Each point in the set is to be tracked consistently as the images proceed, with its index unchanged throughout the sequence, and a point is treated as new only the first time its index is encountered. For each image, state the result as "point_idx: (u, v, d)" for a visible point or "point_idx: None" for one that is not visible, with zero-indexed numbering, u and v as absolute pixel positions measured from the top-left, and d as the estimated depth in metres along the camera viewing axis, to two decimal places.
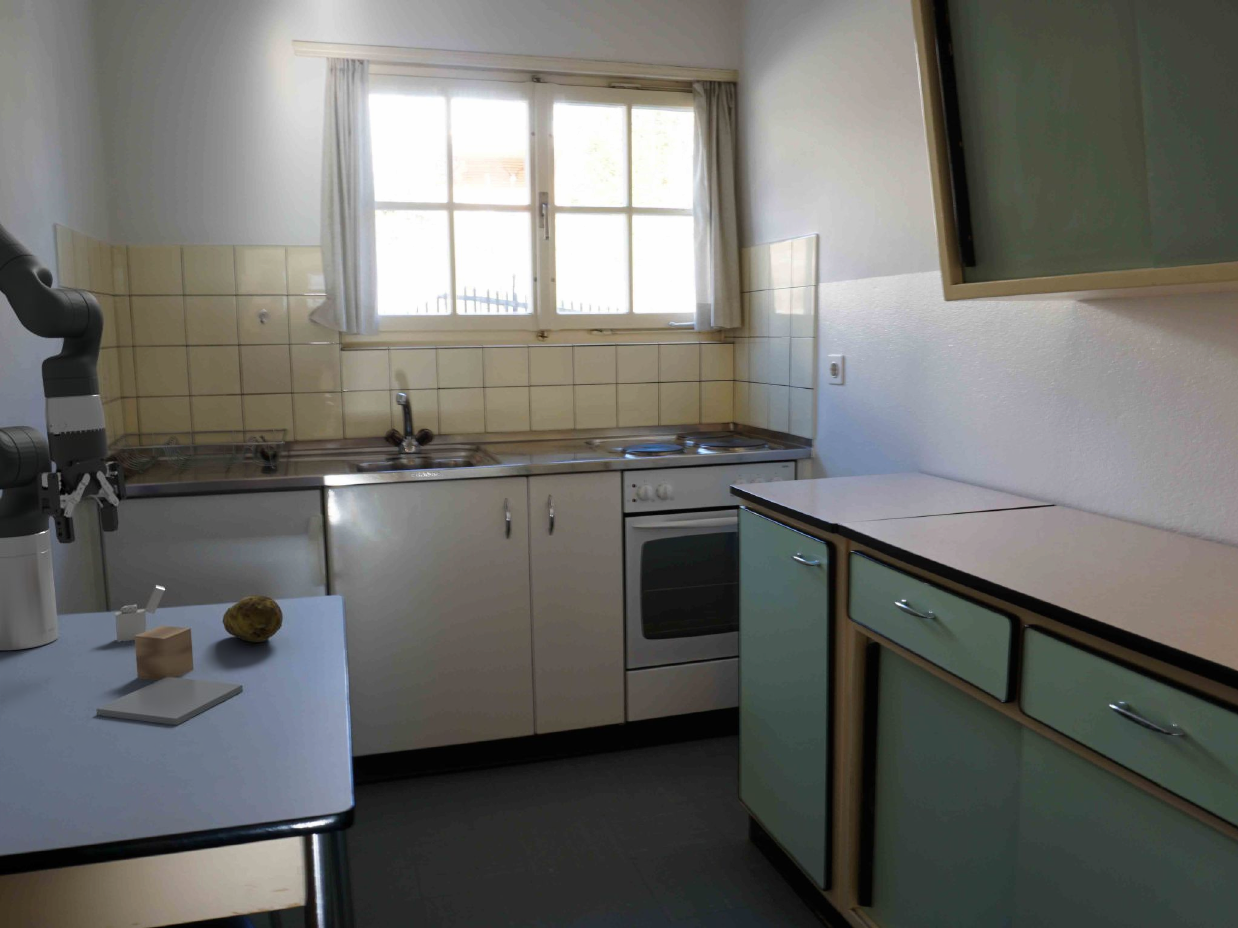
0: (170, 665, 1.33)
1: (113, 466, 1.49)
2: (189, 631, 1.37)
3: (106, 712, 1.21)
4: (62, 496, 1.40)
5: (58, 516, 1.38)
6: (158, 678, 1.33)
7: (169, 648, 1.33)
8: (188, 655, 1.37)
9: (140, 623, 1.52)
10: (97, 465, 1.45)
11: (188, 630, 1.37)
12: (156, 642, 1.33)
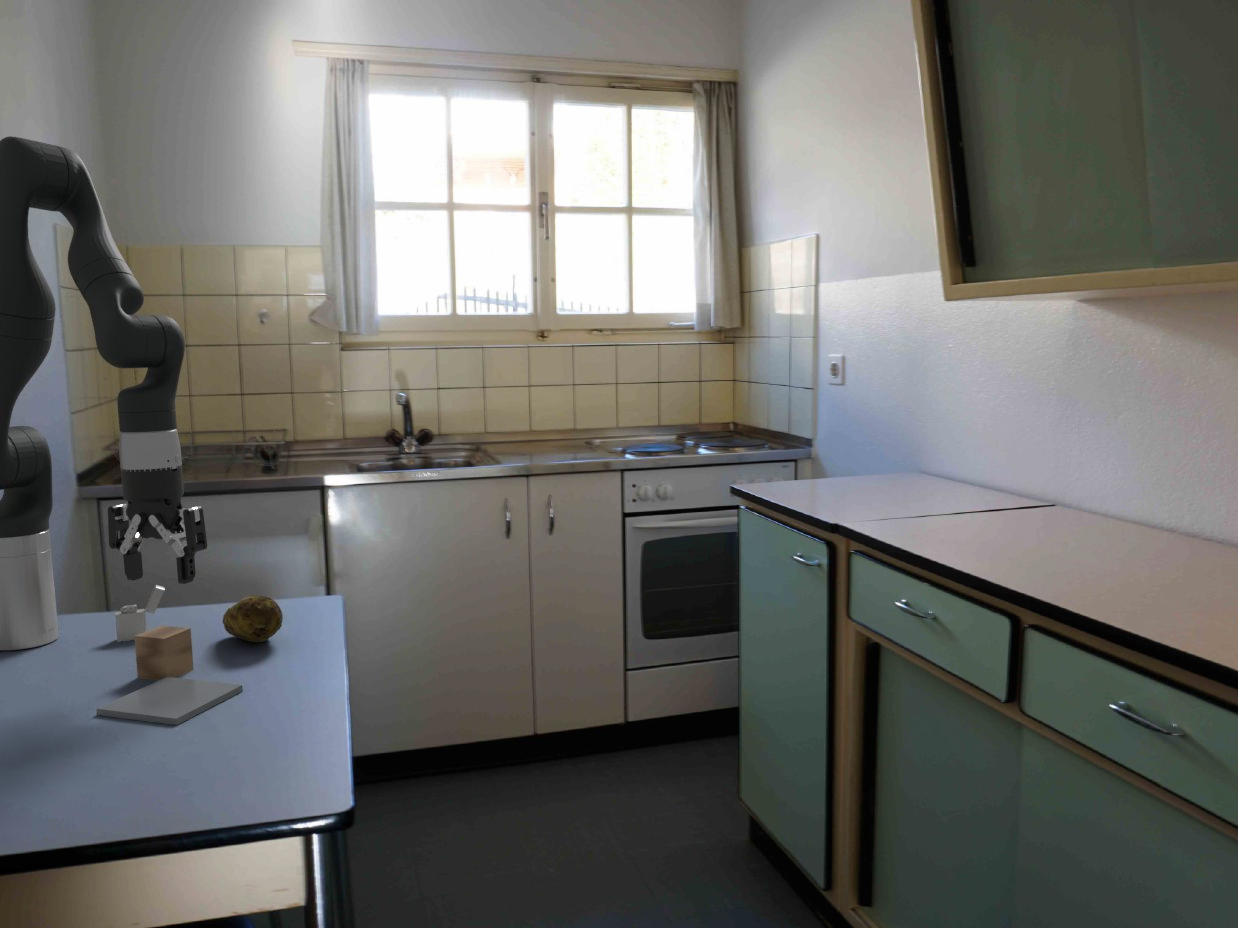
0: (170, 665, 1.33)
1: None
2: (189, 631, 1.37)
3: (106, 712, 1.21)
4: (178, 534, 1.32)
5: (195, 552, 1.33)
6: (158, 678, 1.33)
7: (168, 648, 1.33)
8: (188, 655, 1.37)
9: (140, 623, 1.52)
10: None
11: (188, 630, 1.37)
12: (156, 642, 1.33)
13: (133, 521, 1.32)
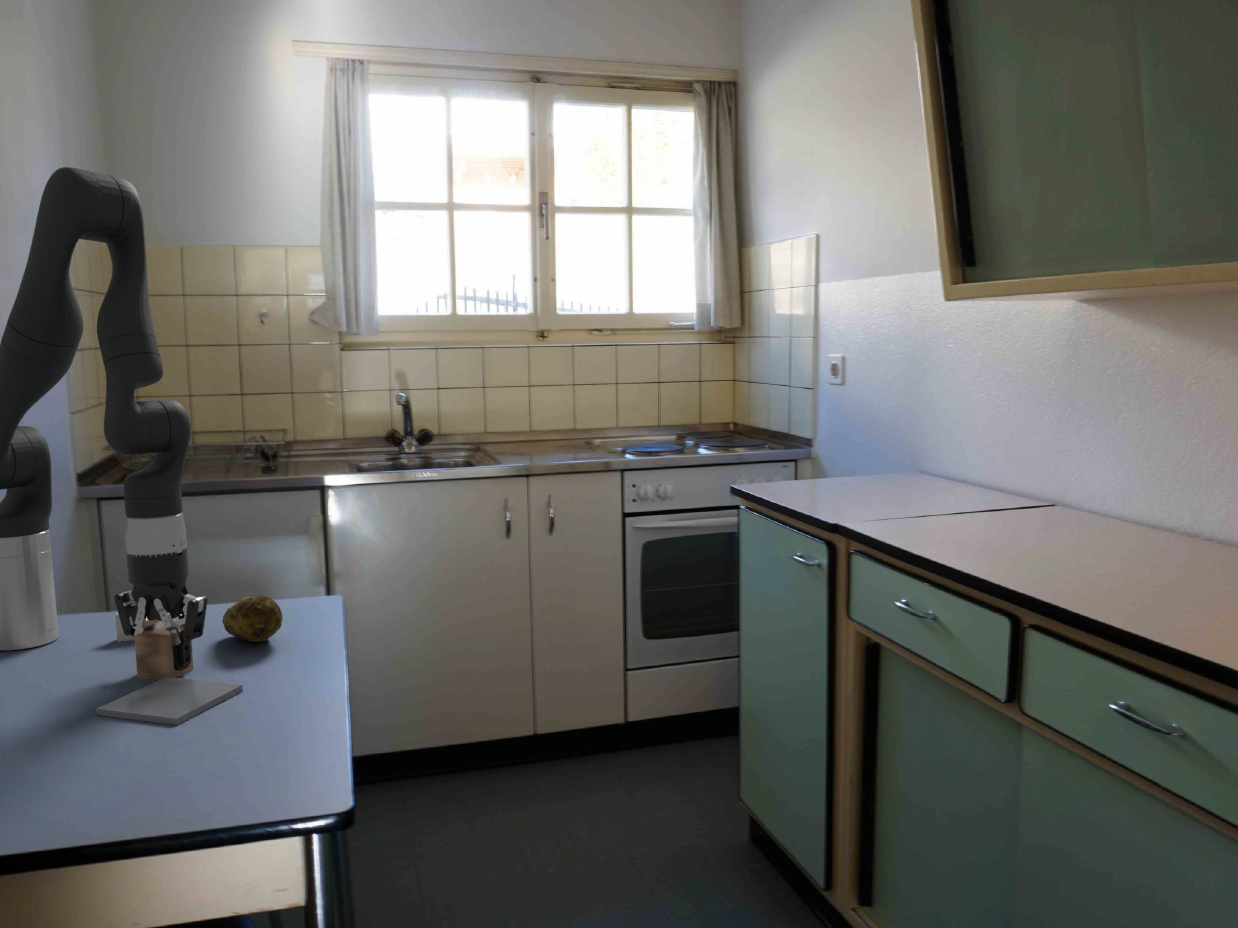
0: (169, 665, 1.33)
1: None
2: None
3: (106, 712, 1.21)
4: (178, 621, 1.34)
5: (190, 640, 1.35)
6: (158, 678, 1.33)
7: (168, 648, 1.33)
8: None
9: None
10: None
11: None
12: (156, 641, 1.33)
13: (139, 605, 1.34)
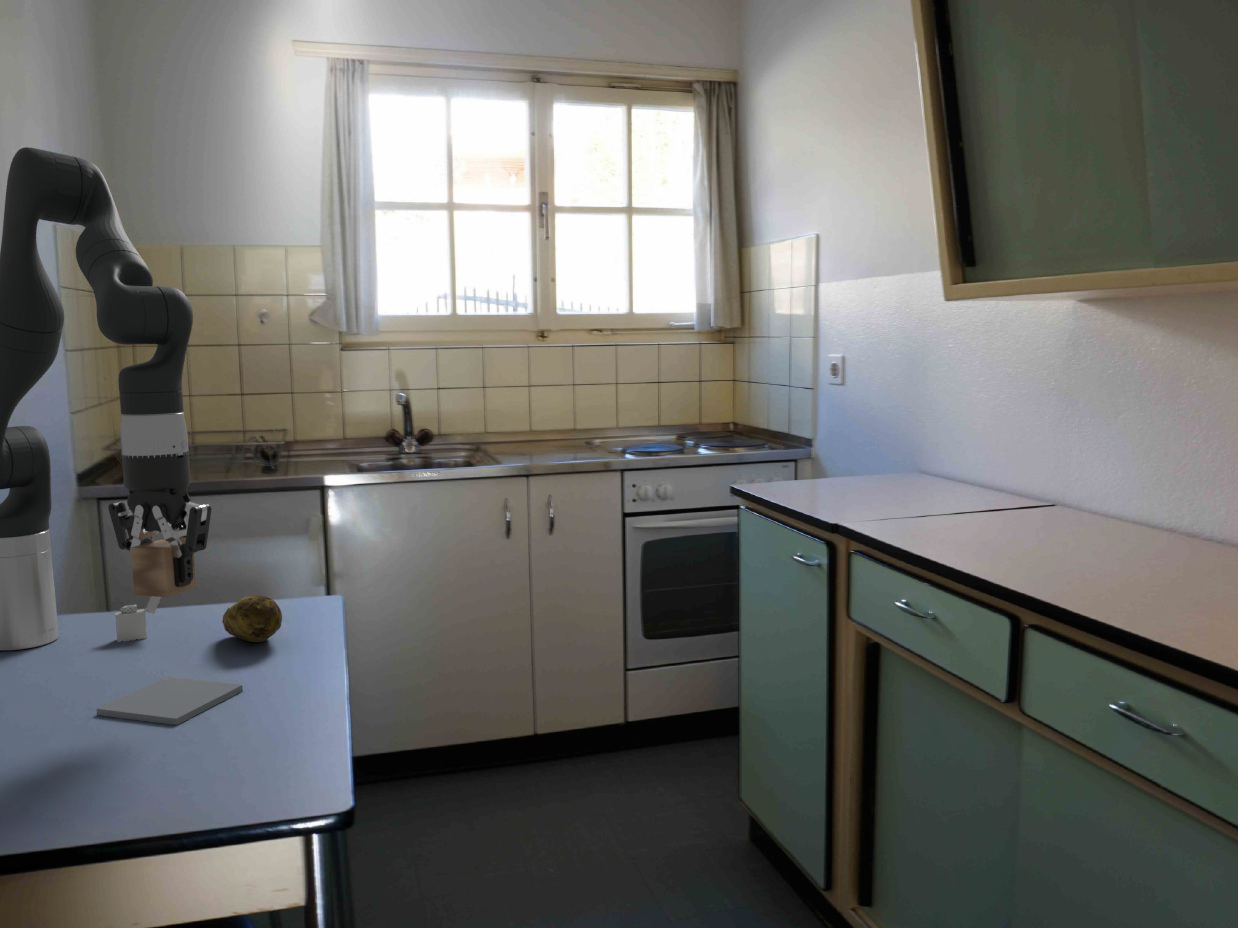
0: (170, 579, 1.21)
1: None
2: None
3: (106, 712, 1.21)
4: (179, 532, 1.21)
5: (192, 553, 1.22)
6: (157, 594, 1.21)
7: (169, 561, 1.20)
8: None
9: (140, 623, 1.52)
10: None
11: None
12: (155, 553, 1.20)
13: (136, 514, 1.21)
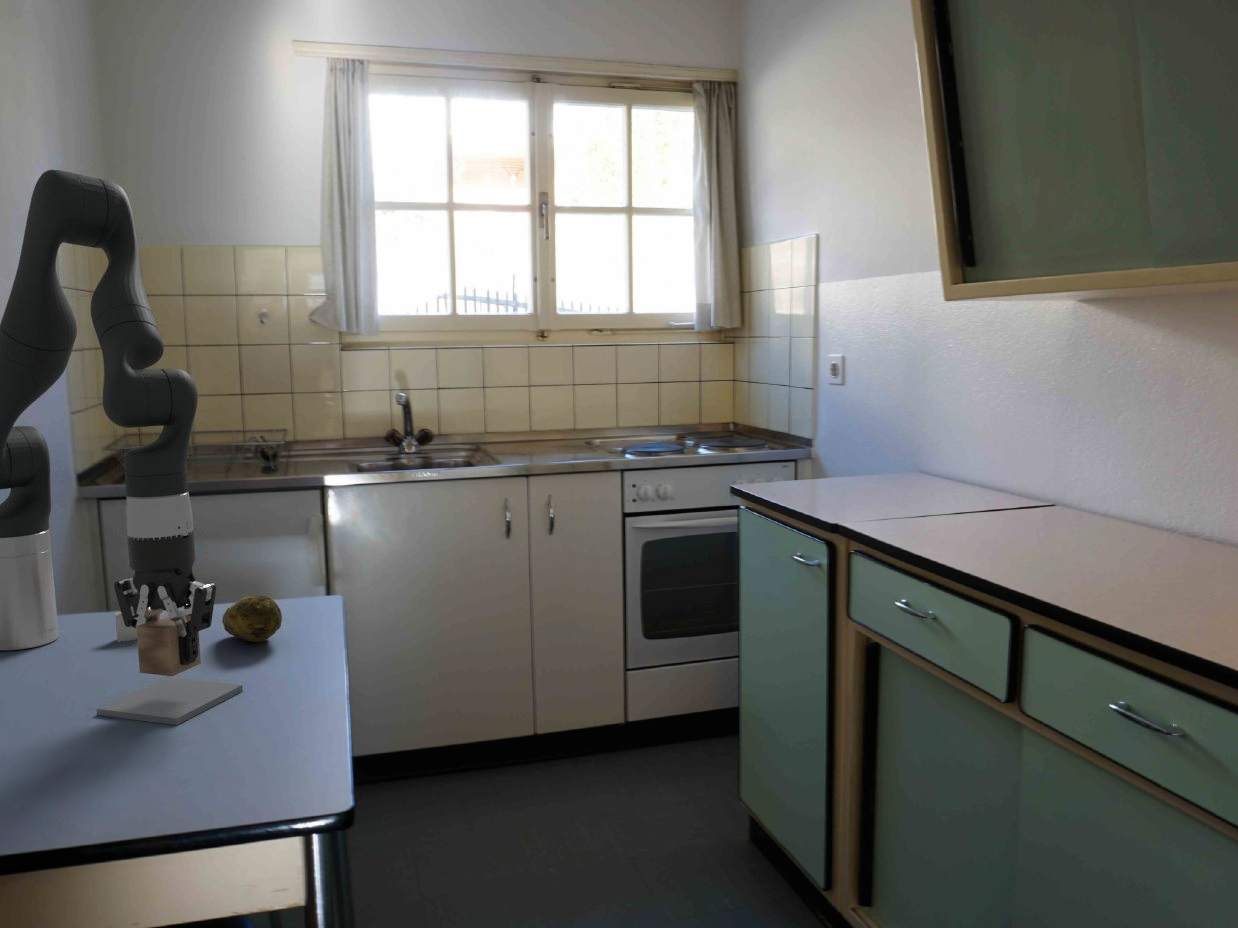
0: (175, 658, 1.22)
1: None
2: None
3: (106, 712, 1.21)
4: (184, 611, 1.22)
5: (197, 631, 1.23)
6: (162, 672, 1.22)
7: (174, 640, 1.22)
8: None
9: None
10: None
11: None
12: (160, 632, 1.21)
13: (141, 593, 1.22)
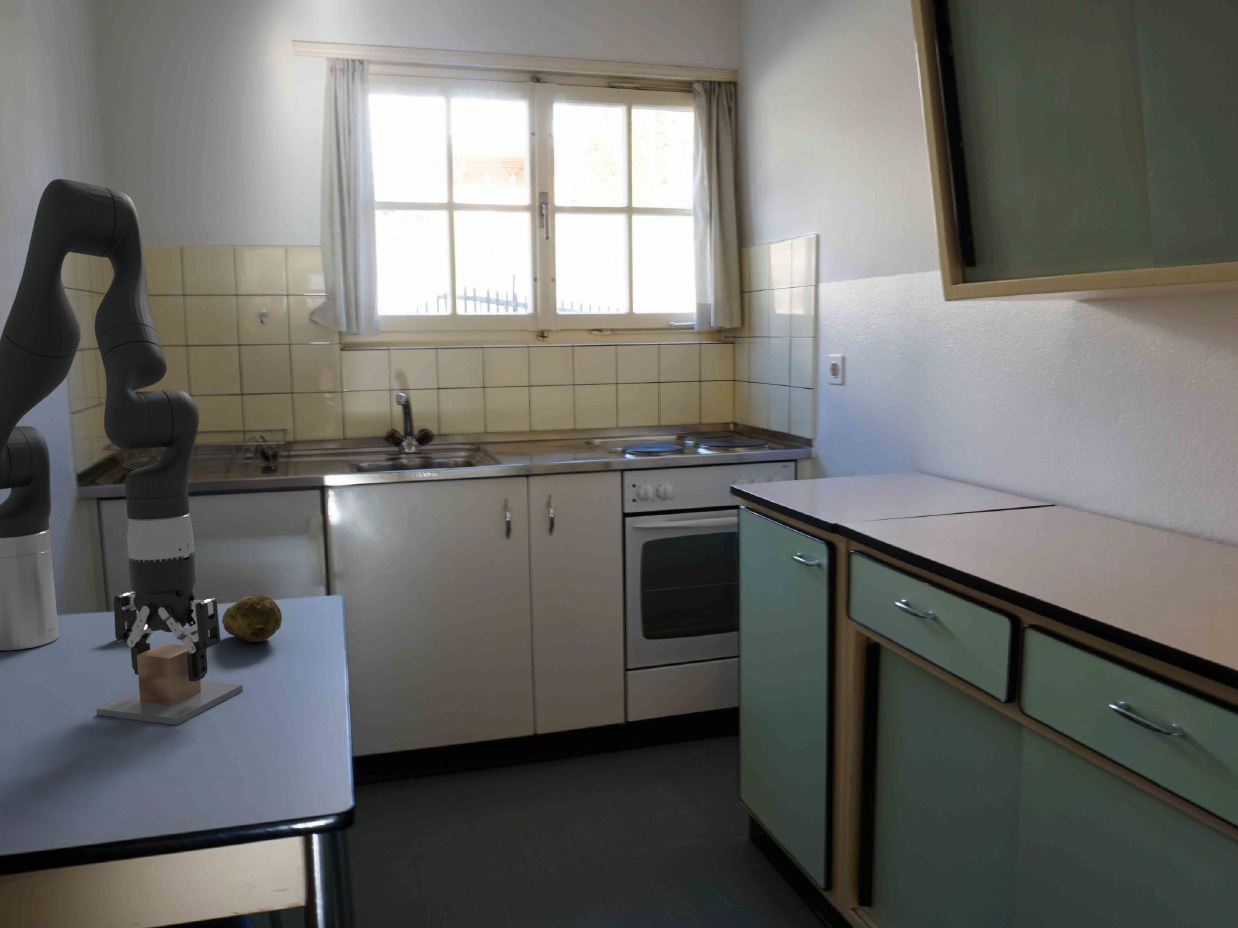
0: (175, 687, 1.22)
1: None
2: None
3: (106, 712, 1.21)
4: (189, 628, 1.22)
5: None
6: (163, 701, 1.22)
7: (174, 669, 1.22)
8: None
9: None
10: None
11: None
12: (160, 662, 1.22)
13: (141, 613, 1.22)
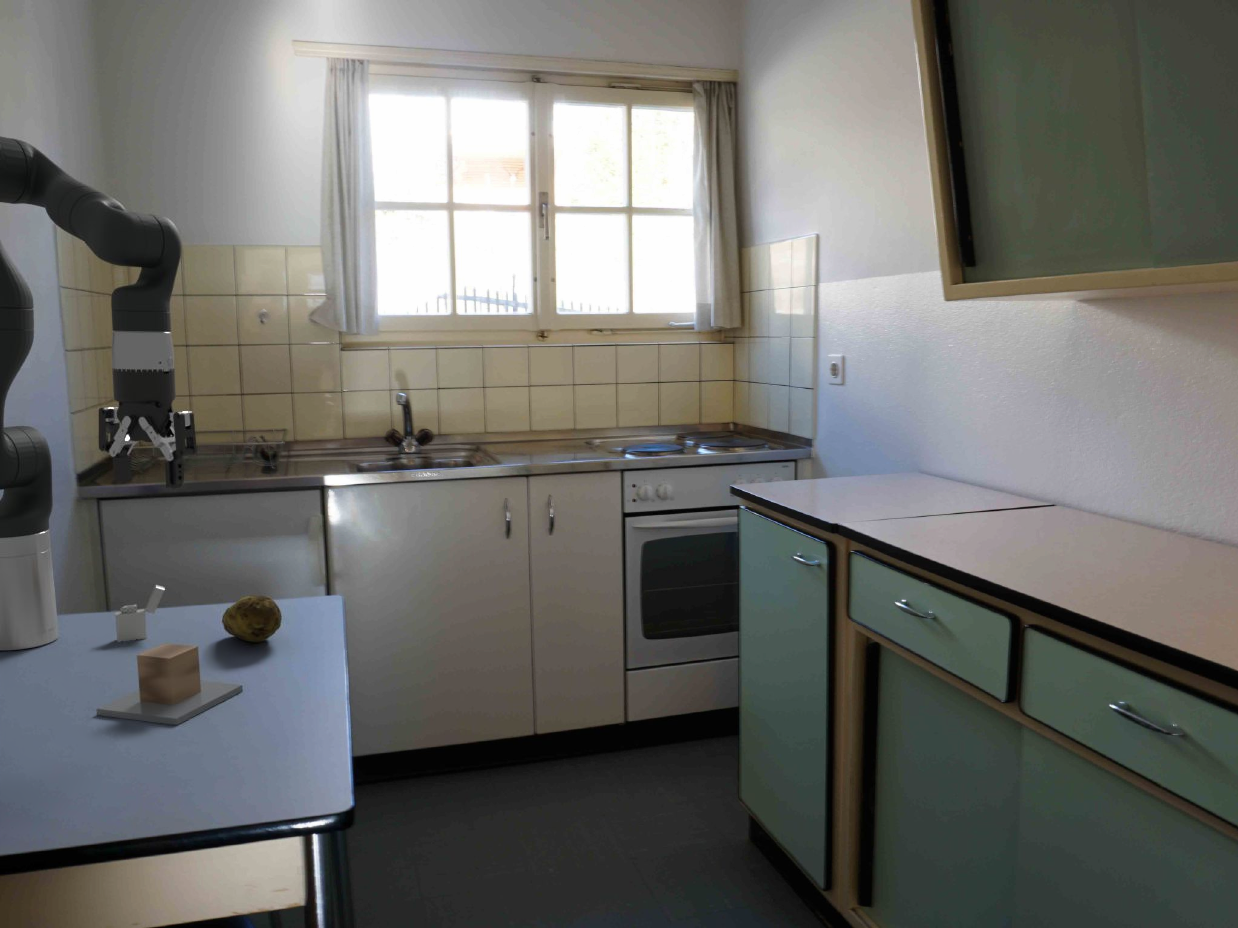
0: (175, 687, 1.22)
1: None
2: (196, 649, 1.26)
3: (106, 712, 1.21)
4: (167, 438, 1.31)
5: (184, 458, 1.31)
6: (163, 701, 1.22)
7: (174, 669, 1.22)
8: (195, 675, 1.26)
9: (140, 623, 1.52)
10: None
11: (195, 648, 1.25)
12: (160, 662, 1.22)
13: (123, 423, 1.31)
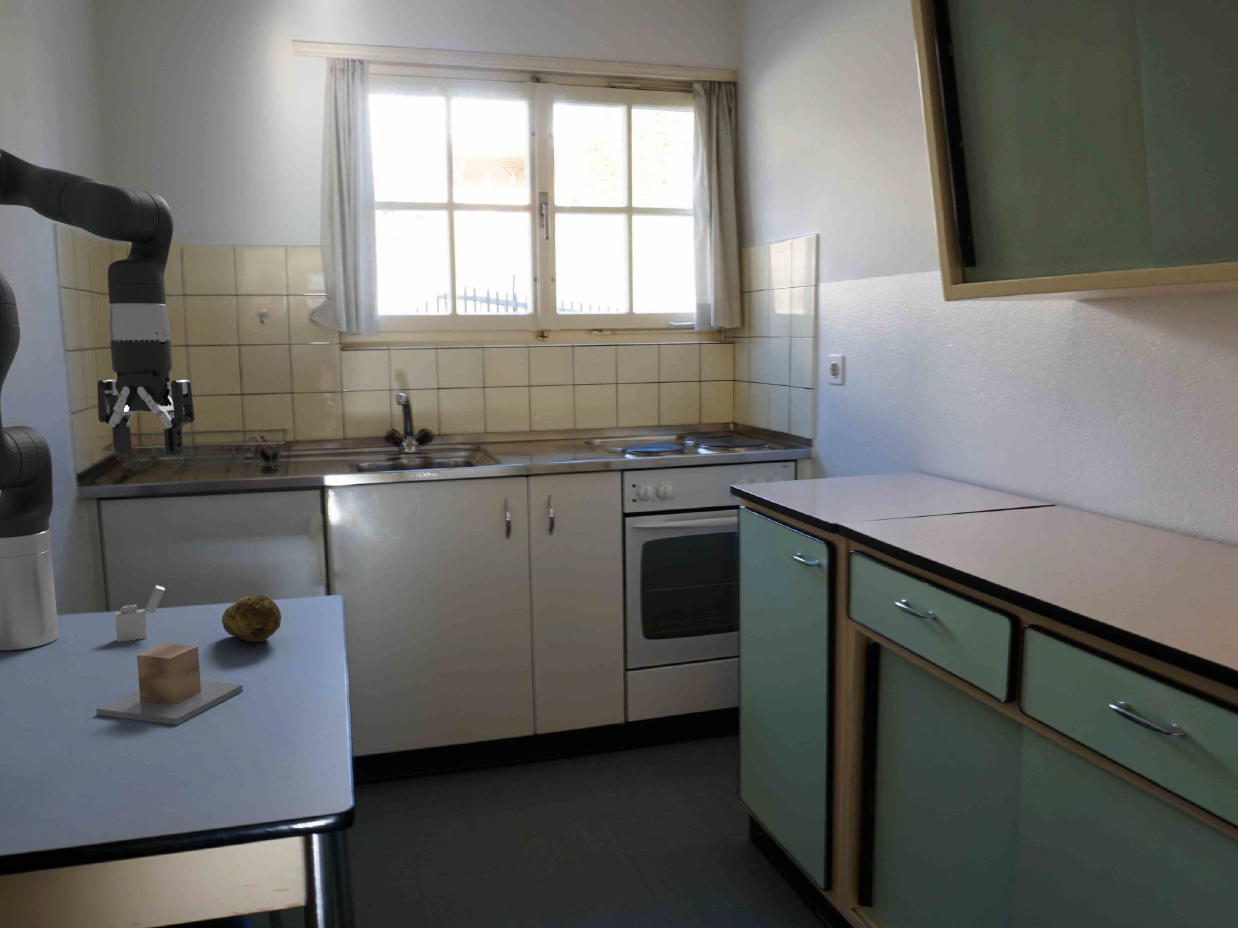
0: (175, 687, 1.22)
1: None
2: (196, 649, 1.26)
3: (106, 712, 1.21)
4: (166, 407, 1.35)
5: (182, 425, 1.36)
6: (163, 701, 1.22)
7: (174, 669, 1.22)
8: (195, 675, 1.26)
9: (140, 623, 1.52)
10: None
11: (195, 648, 1.25)
12: (160, 662, 1.22)
13: (122, 393, 1.35)
